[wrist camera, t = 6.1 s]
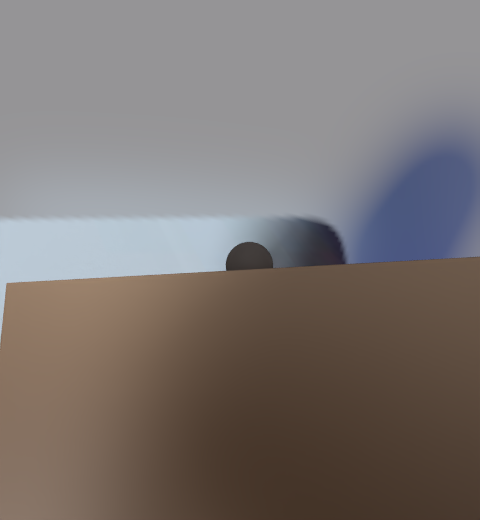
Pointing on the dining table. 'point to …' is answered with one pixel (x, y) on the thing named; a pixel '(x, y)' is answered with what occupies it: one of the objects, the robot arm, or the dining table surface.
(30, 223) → the dining table surface
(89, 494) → the tan tall block
